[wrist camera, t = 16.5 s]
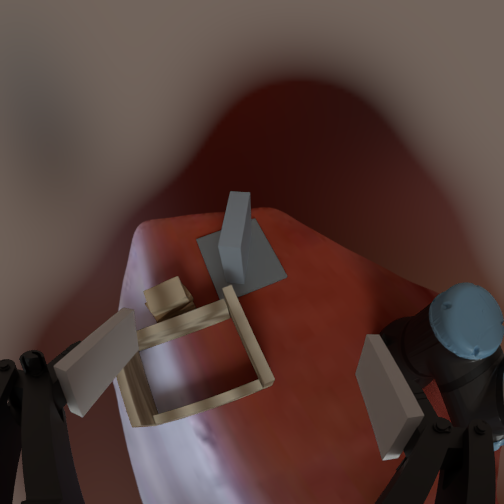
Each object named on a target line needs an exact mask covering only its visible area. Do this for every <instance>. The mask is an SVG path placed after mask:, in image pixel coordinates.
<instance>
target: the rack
mask: <svg viewBox="0 0 504 504" xmlns="http://www.w3.org/2000/svg"><path fill="white" fill-rule="evenodd" d="M222 290H223V293H224V297H225V300H226V303H225V300H224V299H221V300H219V301H216V302H214V303H211V304H208V305H206V306H203V307H200V308H198V309H195V310H192V311H190V312H187V313H184V314H182V315H179V316H176V317H174V318H171V319H168V320H165V321H163V322H160V323H157V324H154V325H152V326H149V327H146V328H143V329H140V330H138V331H136V332H137V339H138V347H139V350H138V351H137V352H136V353H135V355H134V356H133V357H132V358H131V359H130V361H129V362H128V363H127V364H126V365H125V367H124V368H123V369H122V370H121V371H120V373H119V374H118V375H117V376H116V377H117V381H118V384H119V388H120V391H121V395H122V398H123V401H124V404H125V407H126V411H127V414H128V417H129V420H130V422H131V425H132V427H148V426H157V425H161V424H164V423H168V422H171V421H175V420H178V419H182V418H185V417H188V416H191V415H195V414H198V413H201V412H204V411H207V410H210V409H213V408H215V407H218V406H221V405H224V404H227V403H229V402H232V401H235V400H237V399H240V398H242V397H245V396H248V395H250V394H253V393H255V392H257V391H260V390H262V389H265V388H267V387H269V386H272V384H273V382H274V380H275V379H274V376H273V374H272V372H271V370H270V368H269V366H268V364H267V362H266V360H265V357H264V355H263V353H262V351H261V349H260V347H259V345H258V342H257V340H256V338H255V336H254V334H253V332H252V329H251V327H250V325H249V323H248V321H247V318H246V316H245V314H244V312H243V310H242V307H241V305H240V303H239V301H238V298H237V296H236V294H235V292H234V289H233V287H232V285H229V286H227V287H224V288H222ZM226 304H227V305H226ZM227 307H228V308H227ZM229 313H230V315H231V318H232V320H233V322H234V325H235V327H236V329H237V332H238V334H239V336H240V338H241V341H242V343H243V345H244V347H245V350H246V352H247V354H248V356H249V359H250V361H251V363H252V365H253V367H254V370H255V372H256V374H257V376H258V378H259V379H258V380H255V381H253V382H250V383H248V384H245V385H243V386H240V387H238V388H235V389H233V390H230V391H227V392H225V393H222V394H219V395H216V396H214V397H211V398H208V399H205V400H202V401H199V402H196V403H193V404H190V405H187V406H184V407H181V408H177V409H174V410H171V411H167V412H164V413H160V414H159V413H158V410H157V408H156V405H155V402H154V399H153V396H152V393H151V390H150V387H149V384H148V381H147V378H146V375H145V371H144V368H143V365H142V361H141V358H140V354H139V351H141V350H144V349H147V348H150V347H153V346H156V345H159V344H162V343H165V342H168V341H170V340H173V339H176V338H179V337H181V336H184V335H187V334H190V333H192V332H195V331H198V330H200V329H203V328H206V327H208V326H211V325H214V324H216V323H219V322H221V321H224V320H227V319H229V318H230V315H229Z"/></svg>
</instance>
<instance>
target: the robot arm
mask: <svg viewBox="0 0 504 504" xmlns="http://www.w3.org/2000/svg"><path fill="white" fill-rule="evenodd" d="M503 321H504V320H503V315H502V312H501V309H500V307H499V305H498V303H497V302H496V300H495V299H494V297H493V296H492V295H491V294H490V293H489V292H488V291H487V290H485V289H484V288H482V287H480V286H475V285H474V284H472V283H459V284H456V285H454V286H452V287H450V288H449V289H448V290H446V291H445V292H442V293H441V294H439V295H438V296H437V297H436V298H435V299H434V300H433V302H432V303H430V304H429V305H428V306H427V307H426V308H424V309H423V310H422V311H420V312H419V313H418V314H416V315H415V316H411V317H403V318H400V319H397V320H395V321H393V322H392V323H390V324H389V325H388V326H387V327H385V328H384V329H383V330H382V332H381V333H380V334H379V335H373V334H367V335H366V339H365V343H364V347H363V350H362V354H361V357H360V361H359V364H358V367H357V371H356V374H355V375H356V378H357V380H358V383H359V386H360V389H361V392H362V395H363V398H364V401H365V405H366V408H367V411H368V414H369V417H370V420H371V424H372V427H373V430H374V433H375V437H376V440H377V443H378V447H379V450H380V454H381V457H382V460H389V459H395V458H398V457H399V456H400V454H401V453H402V451H403V450H404V452H405V455H406V457H405V458H404V460H403V461H402V462H401V464H400V465H399V466H398V468H397V469H396V470H397V471H396V473H395V474H394V476H393V477H392V479H391V481H390V482H389V484H388V485H387V487H386V488H385V490H384V491H383V492H382V494H381V495H380V497H379V498H378V499H377V501H376V502H375V504H423V503H424V501H425V500H426V498H427V496H428V494H429V492H430V489H431V487H432V485H433V483H434V481H435V479H436V476H437V474H438V472H439V470H440V474H439V481H438V488H437V494H436V499H435V504H495V457H494V451H495V450H497V449H499V447H500V446H501V445H504V353H503V351H502V349H501V346H500V344H501V342H502V339H503V335H504V327H503V325H502V323H503ZM138 350H139V347H138V339H137V332H136V323H135V314H134V310H133V309H127V308H122V309H121V310H120V311H118V312H117V313H116V314H115V315H114V316H112V317H111V318H110V319H109V320H107V321H106V322H105V323H104V324H103V325H101V326H100V327H99V328H98V329H96V331H94V332H93V333H92V334H90V335H89V336H88V337H87V338H86V339H84V340H83V341H82V342H81V341H78V342H76V343H74V344H72V345H70V346H69V347H68V348H67V349H66V350H65V351H63V352H62V353H61V354H59V355H58V356H57V357H56V358H55V359H54V360H52V361H51V362H50V363H49V364H46V361H45V358H44V355H43V353H42V352H40V351H37V350H31V351H27V352H25V353H23V354H22V355H21V356H20V358H19V360H20V362H21V365H22V368H23V370H24V371H22V370H18V369H17V368H16V365H15V363H14V362H13V361H12V360H9V359H4V360H1V361H0V504H12V500H13V493H14V485H15V479H16V472H17V467H18V462H19V457H20V452H21V448H22V462H23V463H22V464H23V474H24V484H25V492H26V501H22V502H21V504H85V502H84V499H83V496H82V493H81V489H80V486H79V482H78V478H77V474H76V470H75V467H74V462H73V457H72V453H71V448H70V442H69V436H68V430H67V423H66V416H65V411H64V408H63V407H64V406H65V405H66V403H67V404H68V407H69V409H70V411H71V412H72V413H75V414H77V415H79V416H81V417H83V416H84V415H85V414H86V413H87V411H88V410H89V409H90V408H91V407H92V405H93V404H94V403H95V402H96V400H97V399H98V398H99V397H100V395H101V394H102V393H103V392H104V391H105V389H106V388H107V387H108V386H109V385H110V383H111V382H112V381H113V380H114V379H115V377H116V376H117V375H118V374H119V373H120V371H121V370H122V369H123V368H124V367H125V365H126V364H127V363H128V362H129V361H130V359H131V358H132V357H133V356H134V355H135V353H136V352H137V351H138ZM433 379H435V381H436V383H437V385H438V388H439V390H440V393H441V395H442V398H443V401H444V403H445V406H446V409H447V411H448V414H449V417H450V420H451V422H450V421H449V420H447V419H445V418H441V417H438V416H437V414H436V412H435V411H434V409H433V407H432V405H431V404H430V402H429V400H428V399H427V397H426V395H425V393H424V391H423V390H422V388H424V387H425V386H427V385H428V384H429V383H430V382H431V381H432V380H433ZM7 401H9V402H8V404H7Z"/></svg>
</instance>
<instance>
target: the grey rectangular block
mask: <svg viewBox="0 0 504 504" xmlns="http://www.w3.org/2000/svg"><path fill="white" fill-rule="evenodd" d="M251 236H252V229H251V205H250V193H249V192H232V191H231V192H230V195H229V199H228V204H227V208H226V212H225V217H224V221H223V226H222V230H221V234H220V239H219V244H218V248H219V253H220V257H221V262H222V266H223V270H224V275H225V279H226V282H228V283H237V284H245V277H246V270H247V263H248V256H249V250H250V243H251Z"/></svg>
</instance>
